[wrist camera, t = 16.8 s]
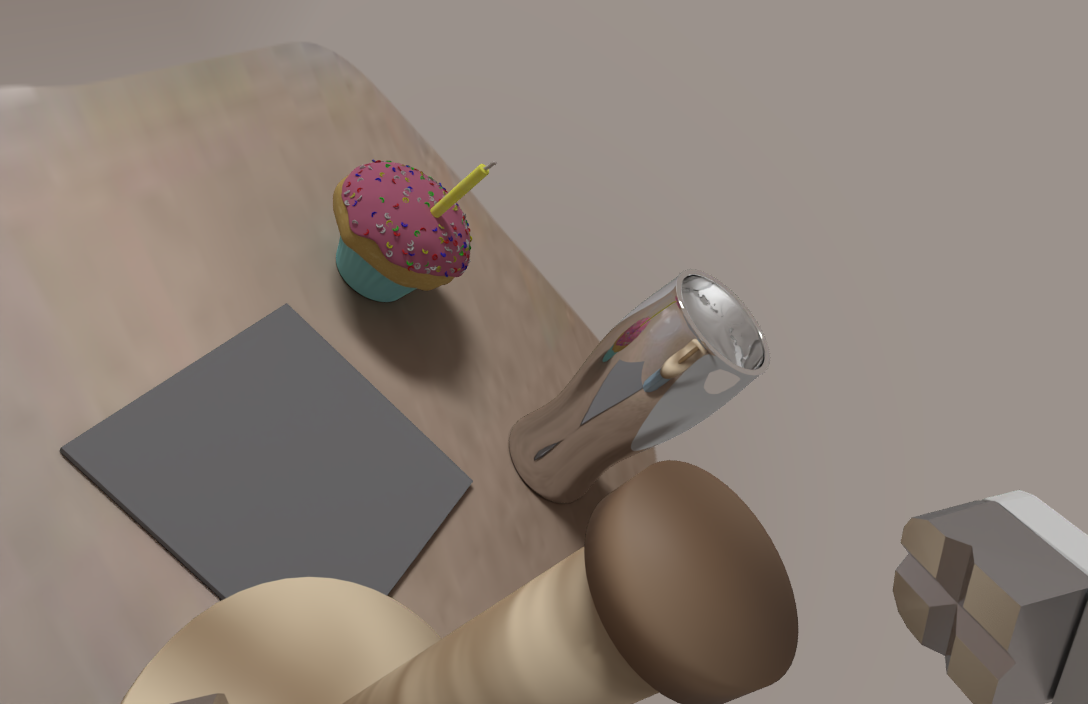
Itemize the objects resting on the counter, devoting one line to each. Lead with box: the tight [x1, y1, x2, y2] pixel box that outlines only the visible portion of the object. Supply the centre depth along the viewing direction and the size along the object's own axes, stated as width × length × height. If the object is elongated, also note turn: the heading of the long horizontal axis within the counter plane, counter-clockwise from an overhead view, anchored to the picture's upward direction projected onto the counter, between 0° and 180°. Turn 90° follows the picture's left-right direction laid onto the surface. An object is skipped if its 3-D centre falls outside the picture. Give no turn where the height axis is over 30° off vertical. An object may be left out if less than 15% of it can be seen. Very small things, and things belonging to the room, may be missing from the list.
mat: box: [60, 303, 473, 600], centre depth 37 cm, size 14×14×1 cm
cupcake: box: [333, 160, 497, 302], centre depth 45 cm, size 9×8×12 cm
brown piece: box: [121, 460, 798, 704], centre depth 20 cm, size 13×13×18 cm
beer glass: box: [509, 269, 770, 503], centre depth 44 cm, size 7×7×15 cm
